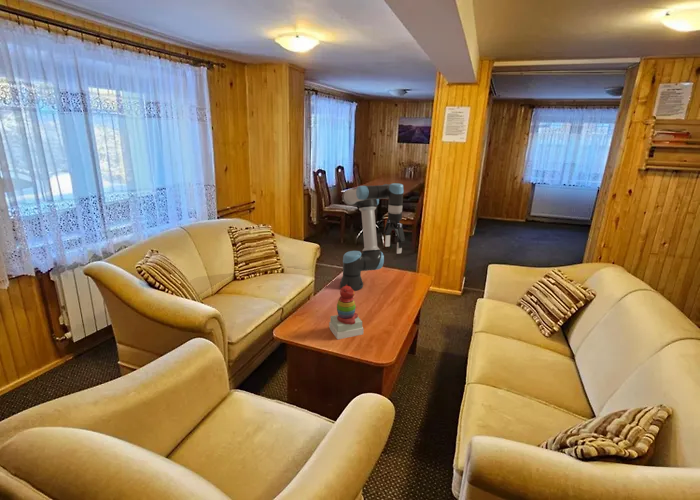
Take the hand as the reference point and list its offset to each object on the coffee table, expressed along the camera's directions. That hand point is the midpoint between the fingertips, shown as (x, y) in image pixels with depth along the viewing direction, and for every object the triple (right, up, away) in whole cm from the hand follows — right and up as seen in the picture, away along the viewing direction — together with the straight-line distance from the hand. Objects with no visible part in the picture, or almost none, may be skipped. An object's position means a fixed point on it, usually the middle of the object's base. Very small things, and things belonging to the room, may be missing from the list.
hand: (393, 249), depth 211 cm
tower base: (-26, -42, -18) cm, 52 cm away
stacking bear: (-26, -35, -20) cm, 48 cm away
